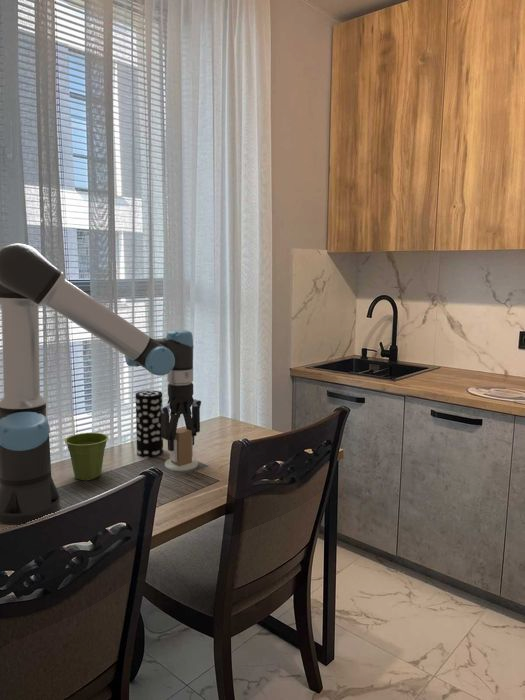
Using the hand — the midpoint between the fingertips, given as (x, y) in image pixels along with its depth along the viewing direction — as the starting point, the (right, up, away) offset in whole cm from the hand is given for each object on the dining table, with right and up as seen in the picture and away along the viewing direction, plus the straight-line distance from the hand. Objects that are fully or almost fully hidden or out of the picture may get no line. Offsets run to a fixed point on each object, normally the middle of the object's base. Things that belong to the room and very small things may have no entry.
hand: (181, 458), depth 161 cm
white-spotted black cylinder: (-12, -1, +11) cm, 16 cm away
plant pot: (-26, -4, -7) cm, 27 cm away
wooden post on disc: (0, -2, 0) cm, 2 cm away
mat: (0, -3, 0) cm, 3 cm away
